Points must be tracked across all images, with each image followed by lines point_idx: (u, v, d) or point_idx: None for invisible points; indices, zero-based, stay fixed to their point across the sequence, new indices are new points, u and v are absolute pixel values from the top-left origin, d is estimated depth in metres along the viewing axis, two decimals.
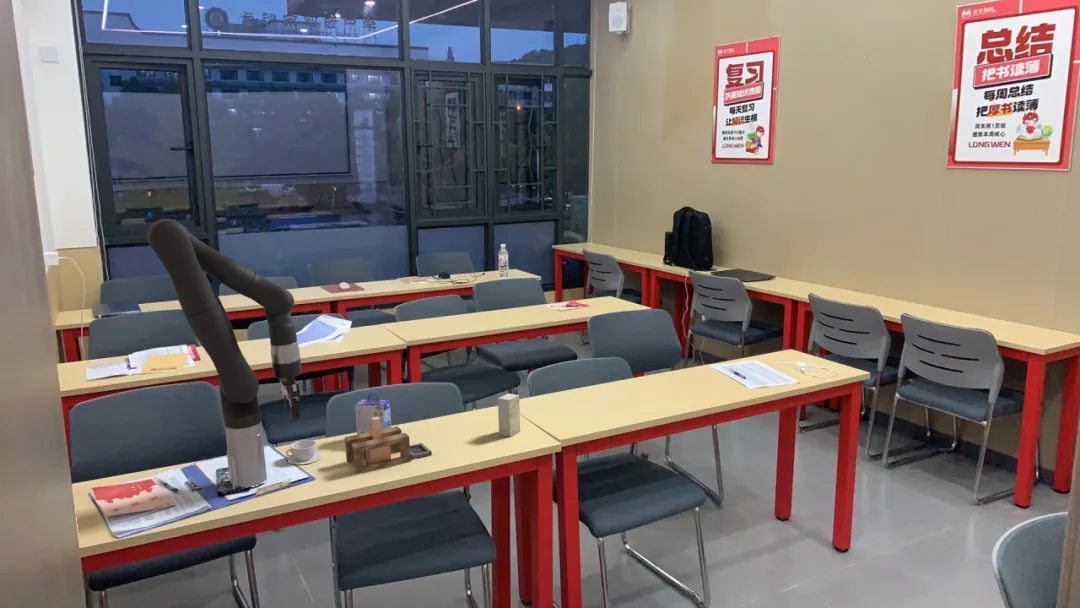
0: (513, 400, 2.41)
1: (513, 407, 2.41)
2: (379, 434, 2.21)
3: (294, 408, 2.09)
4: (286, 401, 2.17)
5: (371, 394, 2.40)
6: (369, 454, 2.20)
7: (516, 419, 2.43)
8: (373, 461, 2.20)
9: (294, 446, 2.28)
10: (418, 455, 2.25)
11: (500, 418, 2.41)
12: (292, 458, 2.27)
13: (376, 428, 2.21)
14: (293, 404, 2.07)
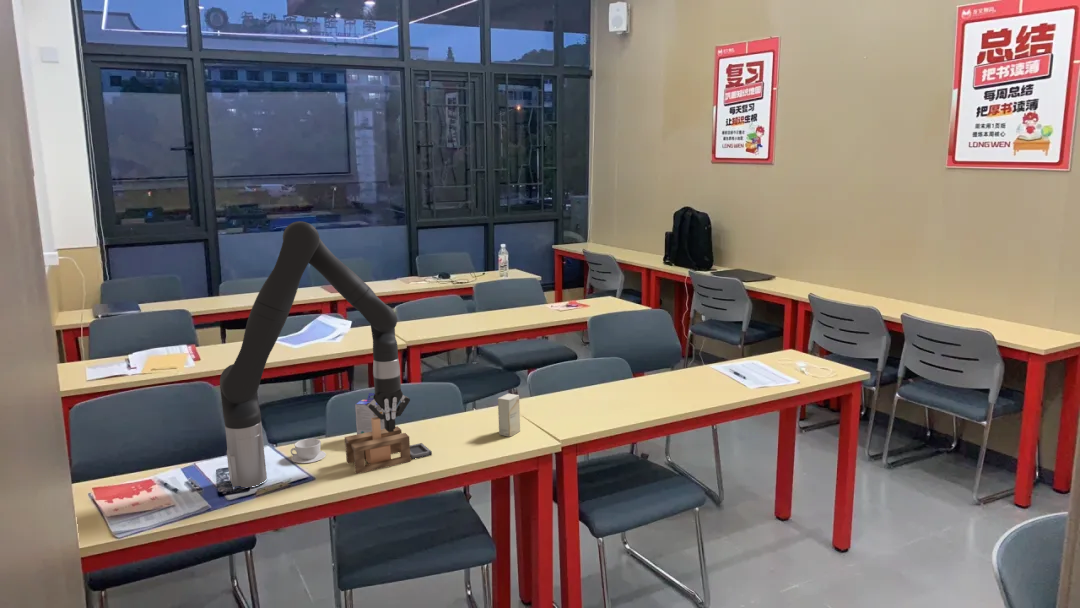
0: (513, 400, 2.41)
1: (513, 407, 2.41)
2: (379, 434, 2.21)
3: None
4: None
5: (371, 394, 2.40)
6: (369, 454, 2.20)
7: (516, 419, 2.43)
8: (373, 461, 2.20)
9: (298, 445, 2.29)
10: (418, 455, 2.25)
11: (500, 418, 2.41)
12: (296, 457, 2.28)
13: (376, 428, 2.21)
14: None
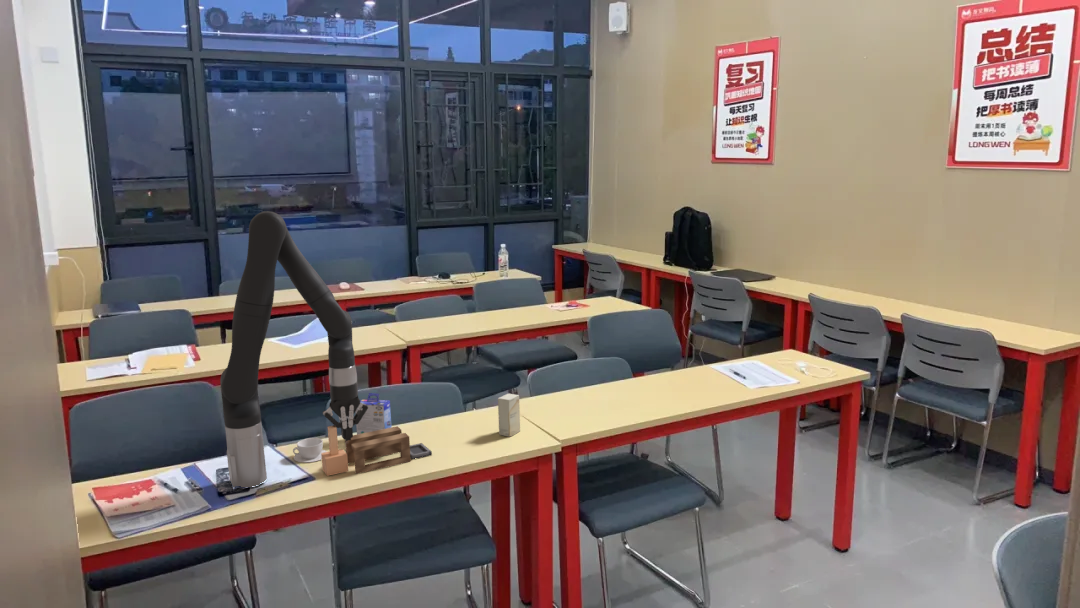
0: (513, 400, 2.41)
1: (513, 407, 2.41)
2: (336, 443, 2.15)
3: None
4: None
5: (371, 394, 2.40)
6: (325, 463, 2.14)
7: (516, 419, 2.43)
8: (329, 471, 2.14)
9: (301, 444, 2.29)
10: (418, 455, 2.25)
11: (500, 418, 2.41)
12: (299, 456, 2.29)
13: (333, 436, 2.15)
14: None
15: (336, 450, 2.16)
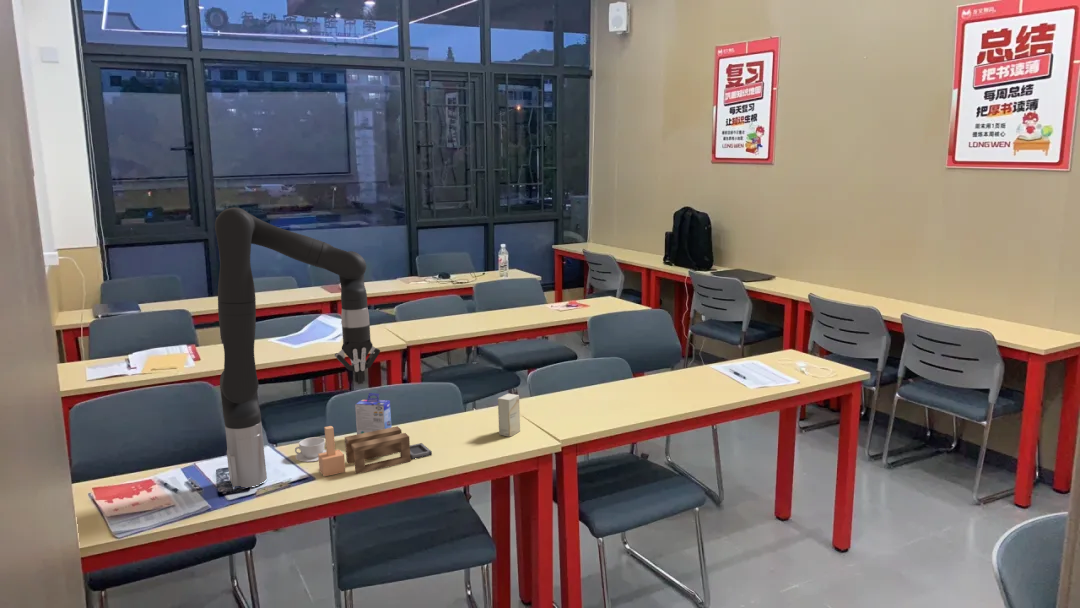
0: (513, 400, 2.41)
1: (513, 407, 2.41)
2: (332, 444, 2.15)
3: None
4: None
5: (371, 394, 2.40)
6: (322, 464, 2.13)
7: (516, 419, 2.43)
8: (326, 472, 2.14)
9: (303, 443, 2.30)
10: (418, 455, 2.25)
11: (500, 418, 2.41)
12: (301, 455, 2.29)
13: (329, 437, 2.14)
14: None
15: (333, 451, 2.15)
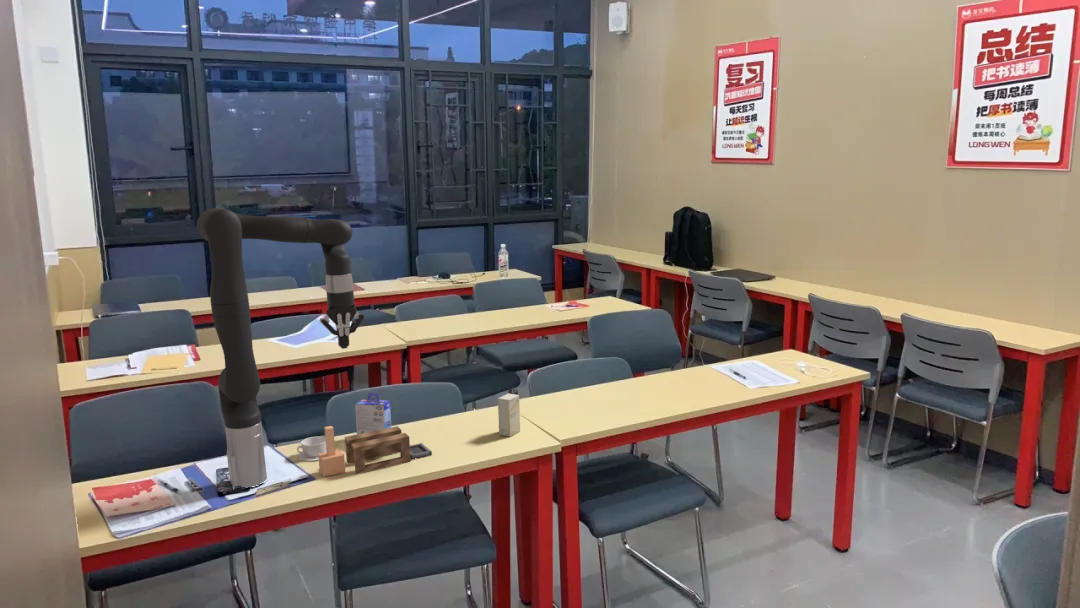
0: (513, 400, 2.41)
1: (513, 407, 2.41)
2: (332, 444, 2.15)
3: None
4: None
5: (371, 394, 2.40)
6: (322, 464, 2.13)
7: (516, 419, 2.43)
8: (326, 472, 2.14)
9: (305, 443, 2.30)
10: (418, 455, 2.25)
11: (500, 418, 2.41)
12: (303, 454, 2.30)
13: (329, 437, 2.14)
14: None
15: (333, 451, 2.15)
